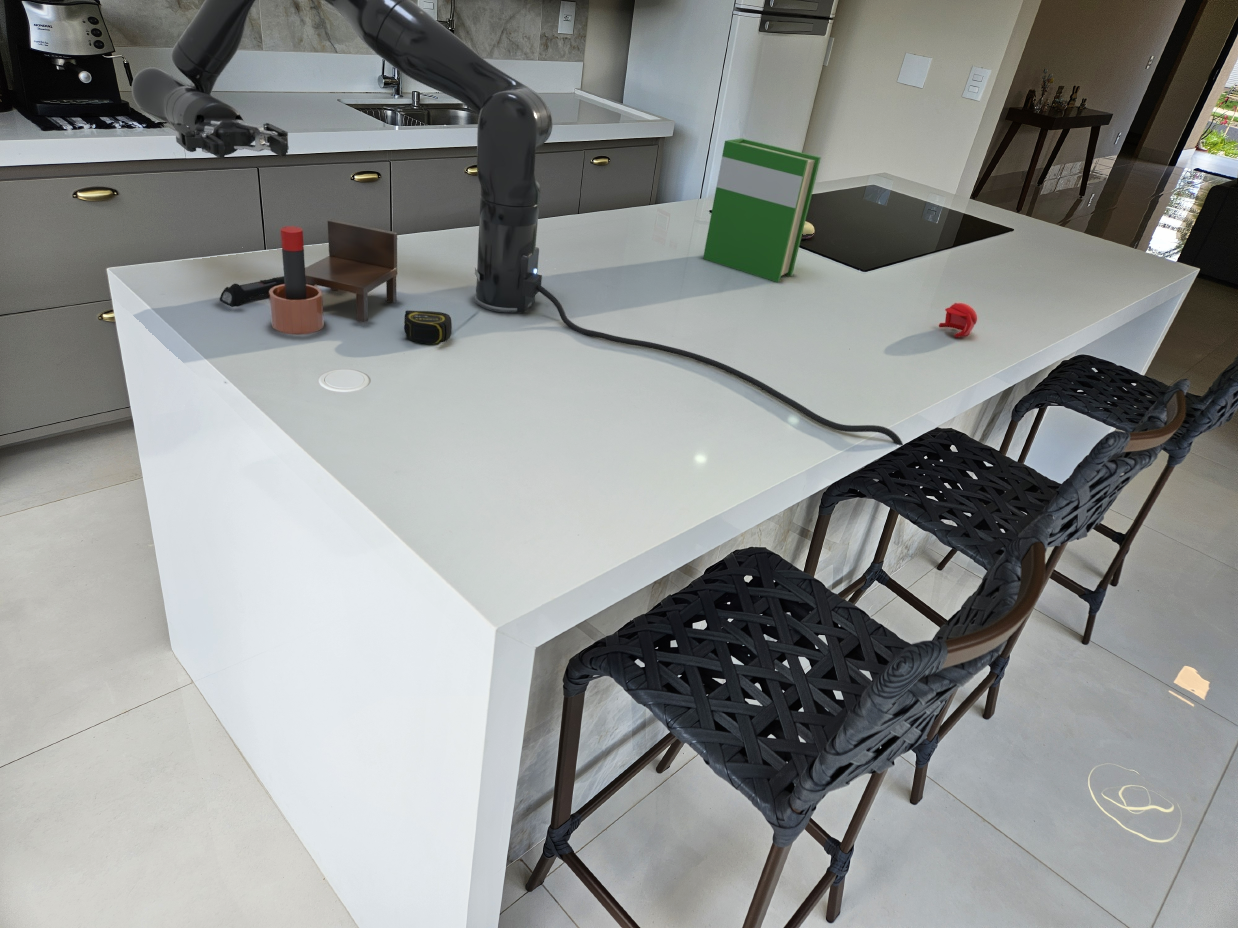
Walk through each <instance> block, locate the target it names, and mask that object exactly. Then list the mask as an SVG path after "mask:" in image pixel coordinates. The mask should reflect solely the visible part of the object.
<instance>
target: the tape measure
mask: <svg viewBox="0 0 1238 928" xmlns="http://www.w3.org/2000/svg"><path fill="white" fill-rule="evenodd" d="M404 313H405V314H404V318H403V319H404V320H403V322H404V324H403V325H404V326H403V329H404V330H403V331H404V334H405V336H406V338H407V339H409V340H410V341H411V342H415V343H418V344H425V345H436V344H443V343H445V342H447V341H449V339H450V338H451V337H452V330H453V323H452V317H451V316H450V314H448V313H445V312H441V311H431V310H405V312H404Z"/></svg>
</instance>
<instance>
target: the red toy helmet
mask: <svg viewBox="0 0 1238 928" xmlns="http://www.w3.org/2000/svg"><path fill="white" fill-rule="evenodd" d="M944 311H945V312H946V313H945V320H944V322H940V323H939V324H938V327H939V328H950V329H955V330H959V332H956V333H955V334H954V337H955V338H956V339H957V338H964V337H968V336H970V335H971V333H972V330H973V329H974V327H975V325H976V324H977V323H978V315H977V312H976V311H975V310H974V308H973V307H972V306H971V305H969V304H967V303H964V302H954V303H953V304H951V305H950V306H949V307H946V308H945V309H944Z"/></svg>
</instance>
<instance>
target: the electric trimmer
mask: <svg viewBox="0 0 1238 928" xmlns="http://www.w3.org/2000/svg"><path fill="white" fill-rule="evenodd" d="M282 284H285V282H284V275H282V276H276V277H272V278H269V279H260V280H259V281H254V282H250V283H244V284H243V283H242V284H238V283H233V284H231V285H230V286H226V287H225V288H224V289H223V291H222V292H220V293H221V294H220V296H219V302H222V303H223V304H225V305H227V306H229V307H231V308H234V307H240V306H241V305H242V304H245V303H249V302H255V301H259V300H263V299H267V298H269V290H270V289H271V288H273V287H275V286H278V285H282ZM308 285H312V286H315V287H316V285H313V284H309V283H308Z"/></svg>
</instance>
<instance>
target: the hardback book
mask: <svg viewBox="0 0 1238 928" xmlns="http://www.w3.org/2000/svg"><path fill="white" fill-rule="evenodd" d="M821 159H822V157H821V156H817V155H813V154H808V153H804V152H801V151H797V150H792V149H787V148H783V147H780V146H775V145H772V144H771V145H770V144H767V143H763V142H759V141H755V140H750V139H746V138H741V137H740V138H734V139H728V140H724V143H723V148H722V154H721V160H720V165H719V171H718V176H717V181H716V187H715V193H714V198H713V202H712V203H713V204H712V209H711V214H710V219H709V225H708V230H707V234H706V235H707V236H706V241H705V246H704V250H703V257H702V259H703V260H706V261H710V262H712V263H716V264H718V265H722V266H725V267H728V268H732V269H734V270H738V271H741V272H745V273H746V274H751V275H754V276H756V277H760V278H763V279H766V280H770V281H772V282H774V283H775V282H776V283H779V282H780V281H781V277H782V276H783V275H785V276H789V277H792V276H793V274H794V269H795V266H796V261H797V257H798V253H799V249H800V245H801V241H802V239H801V237H802V233H803V229H804V225H805V221H806V220H807V216H808V212H809V208H810V204H811V200H812V195H813V191H814V188H815V183H816V180H817V179H816V178H817V175H818V171H819V167H820V163H821Z"/></svg>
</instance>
